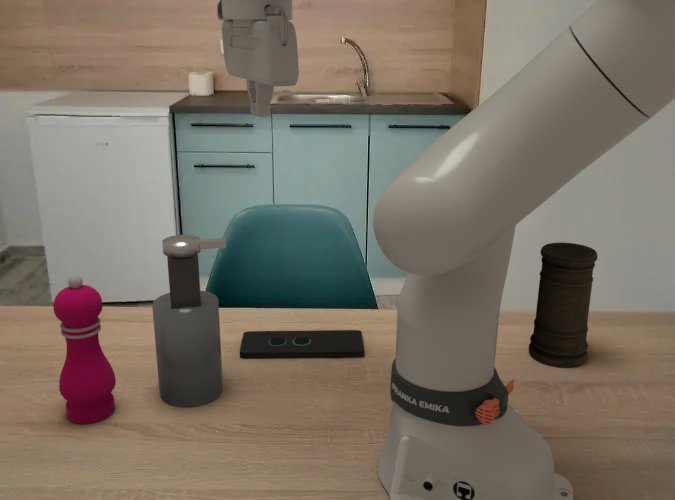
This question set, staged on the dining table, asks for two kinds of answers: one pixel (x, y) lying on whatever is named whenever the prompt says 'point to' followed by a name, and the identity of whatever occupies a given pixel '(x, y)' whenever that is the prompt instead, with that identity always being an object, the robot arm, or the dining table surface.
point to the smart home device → (302, 344)
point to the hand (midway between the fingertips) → (260, 115)
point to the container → (563, 305)
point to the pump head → (189, 245)
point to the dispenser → (187, 338)
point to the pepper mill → (83, 354)
